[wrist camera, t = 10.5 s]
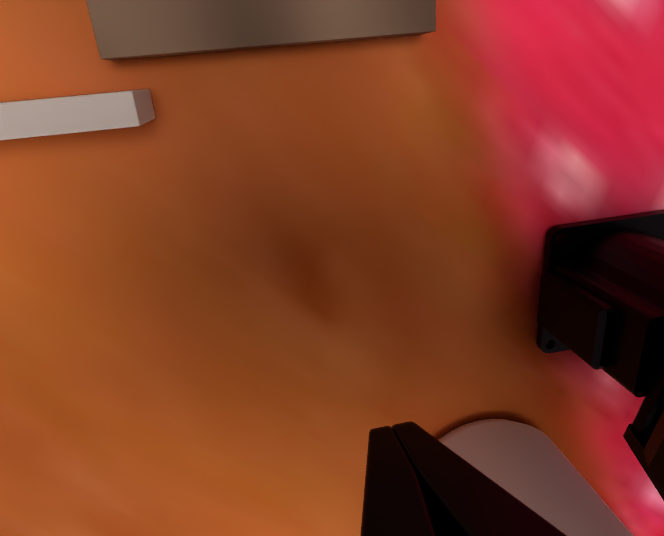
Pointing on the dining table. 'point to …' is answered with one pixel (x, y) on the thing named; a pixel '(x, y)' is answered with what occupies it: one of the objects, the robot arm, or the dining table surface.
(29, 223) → the dining table surface
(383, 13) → the board
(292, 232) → the dining table surface
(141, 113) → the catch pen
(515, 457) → the alcohol
